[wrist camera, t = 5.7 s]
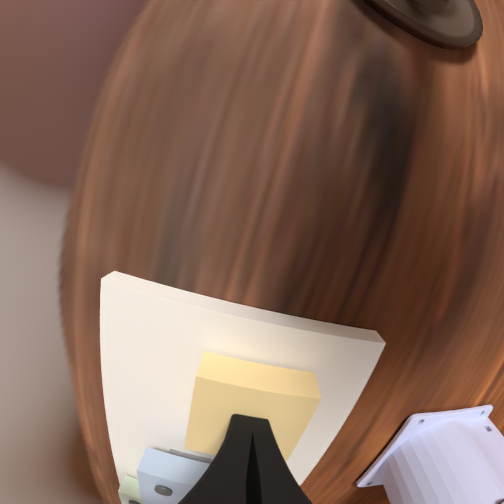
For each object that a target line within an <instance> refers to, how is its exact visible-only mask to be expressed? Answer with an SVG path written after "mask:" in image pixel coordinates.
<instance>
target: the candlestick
mask: <svg viewBox="0 0 504 504" xmlns="http://www.w3.org/2000/svg"><path fill="white" fill-rule="evenodd" d="M364 1H365V2H366V3H367V4H368V5H369V6H371V7H372V8H373V9H374V10H376V11H377V12H378V13H380V14H381V15H382V16H383V17H385V18H386V19H387V20H389V21H391V22H392V23H394V24H395V25H396V26H398V27H399V28H401V29H403V30H404V31H406V32H408V33H410V34H411V35H413V36H415V37H417V38H419V39H421V40H423V41H425V42H427V43H429V44H432V45H435V46H438V47H441V48H445V49H451V50H459V49H464V48H466V47H468V46H470V45H472V44H473V43H475V42H477V41H478V40H479V39H480V37H481V36H482V31H483V24H482V19H481V16H480V12H479V10H478V8H477V6H476V4H475V2H474V0H364Z"/></svg>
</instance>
